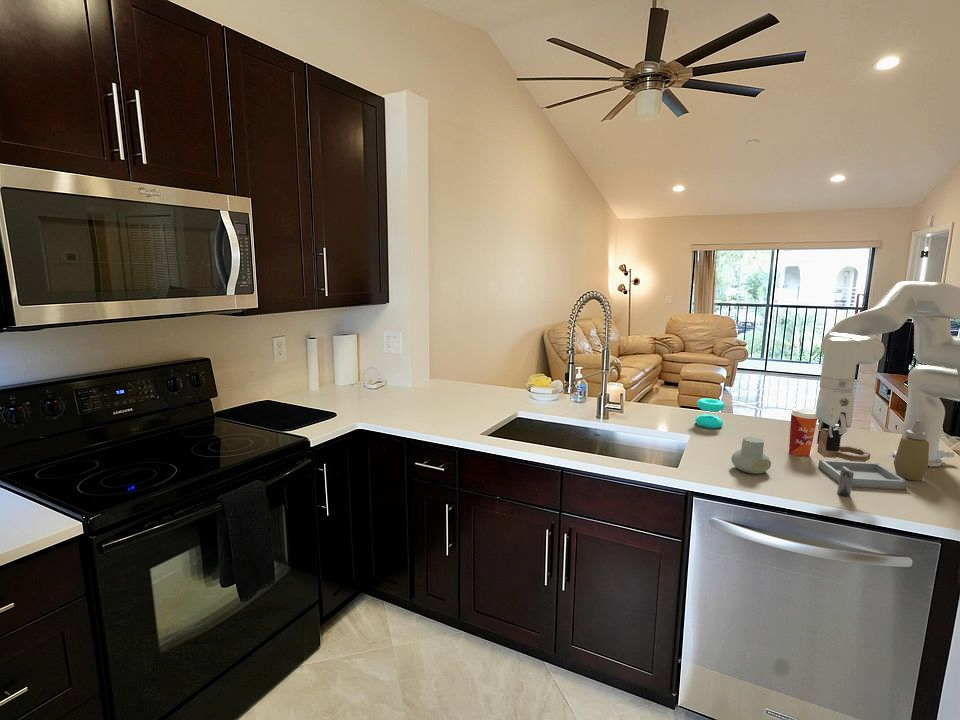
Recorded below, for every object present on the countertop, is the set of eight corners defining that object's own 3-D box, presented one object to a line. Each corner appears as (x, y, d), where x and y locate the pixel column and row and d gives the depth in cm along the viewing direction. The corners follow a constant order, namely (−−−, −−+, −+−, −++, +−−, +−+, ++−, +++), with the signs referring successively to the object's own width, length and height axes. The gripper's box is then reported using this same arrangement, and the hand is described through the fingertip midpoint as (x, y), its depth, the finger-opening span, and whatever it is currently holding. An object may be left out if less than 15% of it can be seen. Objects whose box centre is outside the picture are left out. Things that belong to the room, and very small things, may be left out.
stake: (845, 491, 147) (849, 466, 146) (853, 498, 143) (857, 473, 142) (833, 490, 148) (837, 466, 146) (842, 497, 143) (845, 472, 142)
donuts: (701, 396, 210) (727, 400, 204) (698, 419, 212) (725, 424, 206) (694, 401, 203) (721, 405, 197) (692, 425, 204) (719, 430, 199)
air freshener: (745, 477, 156) (749, 445, 154) (725, 466, 164) (728, 436, 162) (774, 473, 159) (778, 442, 157) (753, 463, 167) (757, 433, 165)
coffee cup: (799, 458, 171) (805, 415, 168) (779, 450, 179) (784, 408, 176) (819, 456, 173) (826, 413, 170) (799, 447, 181) (804, 406, 178)
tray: (877, 470, 162) (878, 463, 162) (906, 490, 148) (907, 481, 148) (818, 467, 164) (819, 459, 164) (841, 485, 151) (843, 477, 150)
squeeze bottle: (910, 471, 161) (919, 416, 158) (933, 482, 153) (944, 424, 150) (884, 472, 161) (894, 416, 158) (906, 483, 153) (916, 424, 150)
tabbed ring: (857, 451, 147) (861, 427, 145) (875, 462, 139) (879, 437, 137) (813, 449, 148) (816, 425, 147) (828, 460, 140) (831, 435, 139)
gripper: (869, 391, 131) (859, 459, 135) (835, 376, 148) (827, 438, 151) (837, 390, 133) (828, 458, 136) (807, 376, 149) (799, 436, 152)
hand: (827, 446), depth 144 cm, fingers closed on tabbed ring, 3 cm apart
